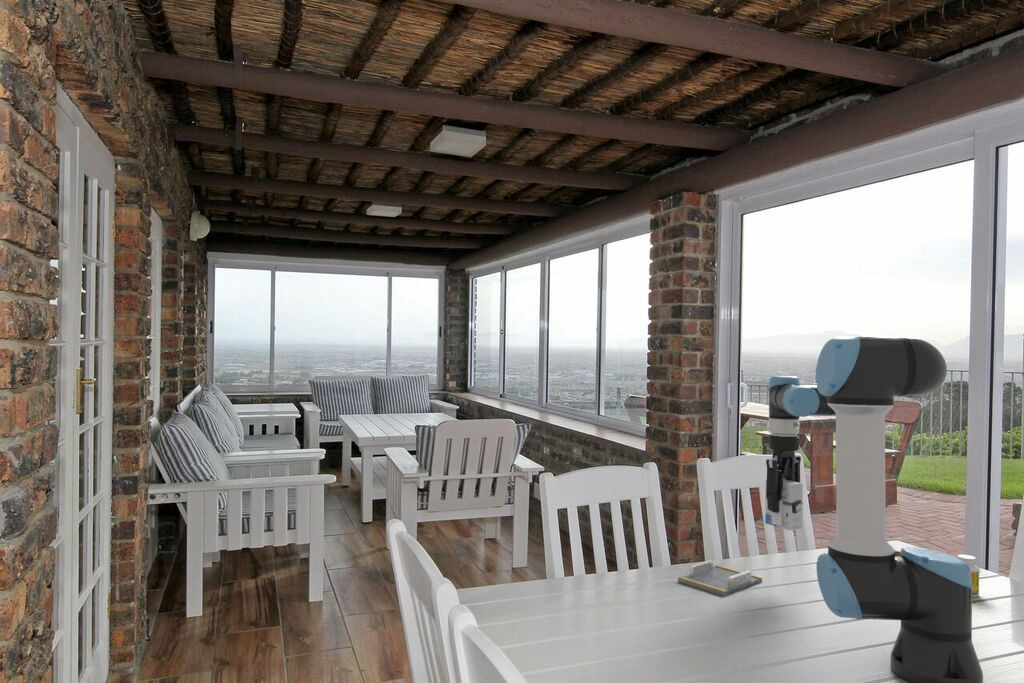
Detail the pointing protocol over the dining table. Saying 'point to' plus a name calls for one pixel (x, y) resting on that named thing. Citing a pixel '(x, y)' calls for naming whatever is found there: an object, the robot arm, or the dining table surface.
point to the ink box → (788, 506)
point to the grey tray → (718, 578)
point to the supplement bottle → (972, 572)
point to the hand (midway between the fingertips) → (783, 522)
